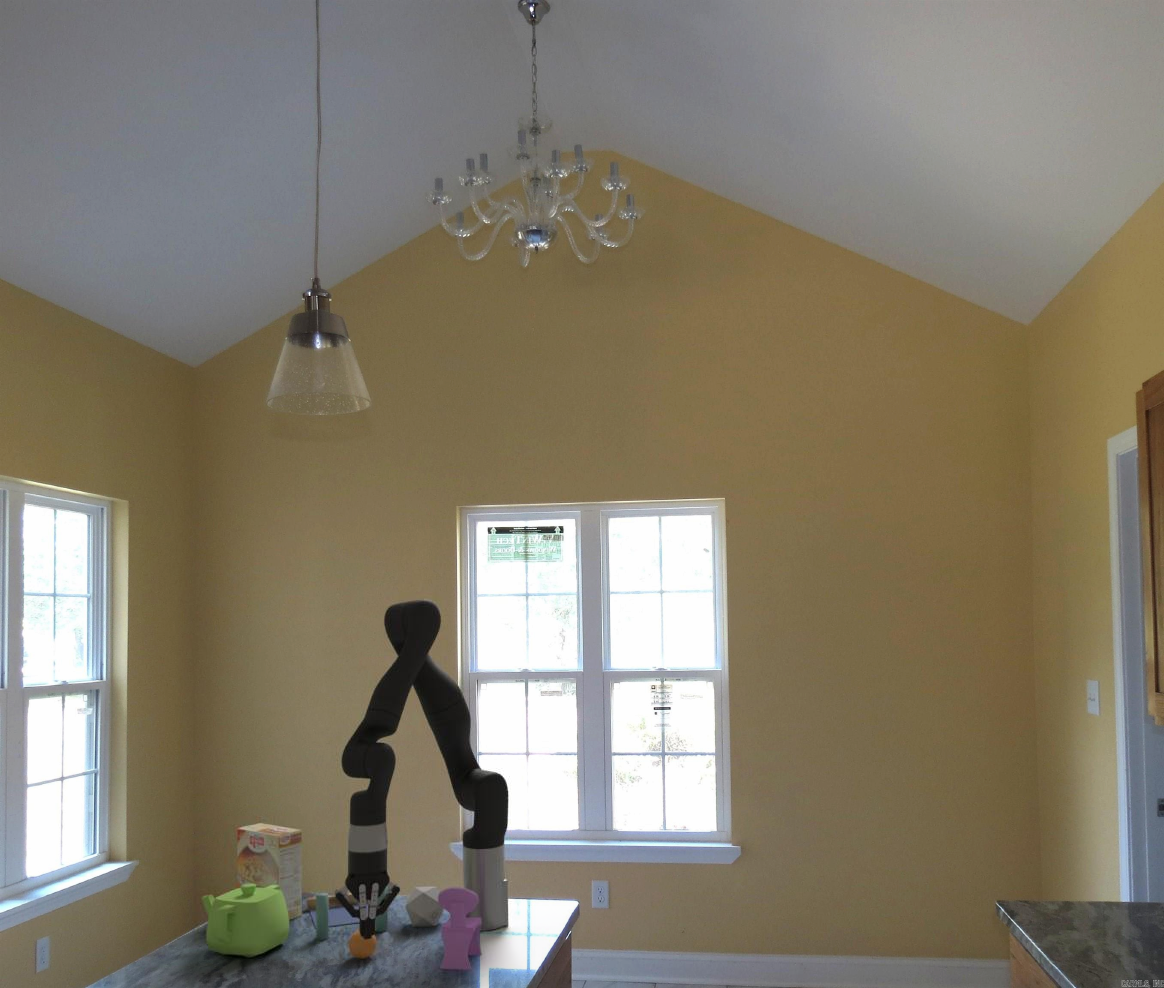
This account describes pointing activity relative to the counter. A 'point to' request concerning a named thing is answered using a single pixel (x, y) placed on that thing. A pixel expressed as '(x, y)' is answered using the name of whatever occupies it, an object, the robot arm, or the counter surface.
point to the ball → (362, 945)
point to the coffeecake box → (272, 861)
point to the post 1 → (322, 916)
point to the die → (424, 906)
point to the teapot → (246, 920)
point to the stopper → (330, 901)
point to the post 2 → (381, 916)
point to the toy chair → (459, 928)
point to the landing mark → (339, 916)
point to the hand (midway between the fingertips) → (367, 938)
